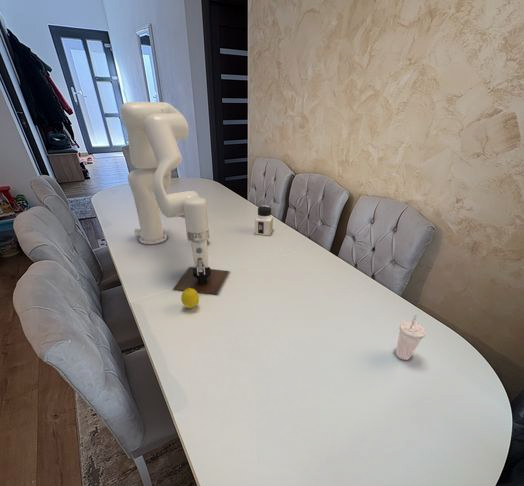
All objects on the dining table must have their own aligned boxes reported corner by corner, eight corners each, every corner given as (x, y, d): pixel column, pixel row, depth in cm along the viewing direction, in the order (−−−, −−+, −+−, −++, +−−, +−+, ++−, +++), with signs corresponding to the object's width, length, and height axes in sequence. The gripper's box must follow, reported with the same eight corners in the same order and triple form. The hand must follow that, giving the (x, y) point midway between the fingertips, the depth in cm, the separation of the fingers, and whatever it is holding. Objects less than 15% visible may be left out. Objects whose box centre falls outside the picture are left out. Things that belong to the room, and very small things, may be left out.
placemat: (173, 289, 110) (173, 288, 109) (190, 268, 123) (189, 266, 123) (216, 294, 108) (216, 293, 107) (228, 272, 121) (228, 271, 121)
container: (269, 235, 152) (271, 210, 145) (254, 234, 153) (255, 208, 146) (272, 229, 158) (273, 205, 151) (258, 228, 160) (258, 203, 152)
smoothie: (386, 347, 88) (399, 308, 80) (408, 346, 88) (423, 307, 81) (396, 364, 82) (412, 323, 75) (419, 363, 83) (436, 323, 75)
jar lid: (209, 268, 118) (208, 264, 117) (212, 277, 112) (212, 272, 111) (191, 271, 115) (190, 266, 114) (194, 279, 110) (194, 275, 109)
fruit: (191, 315, 98) (189, 294, 93) (179, 309, 100) (176, 288, 96) (203, 306, 102) (201, 286, 97) (190, 301, 104) (188, 281, 100)
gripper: (210, 244, 99) (213, 290, 108) (208, 224, 113) (211, 266, 123) (186, 245, 97) (191, 292, 107) (187, 225, 112) (192, 267, 121)
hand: (202, 278), depth 115 cm, fingers closed on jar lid, 6 cm apart
